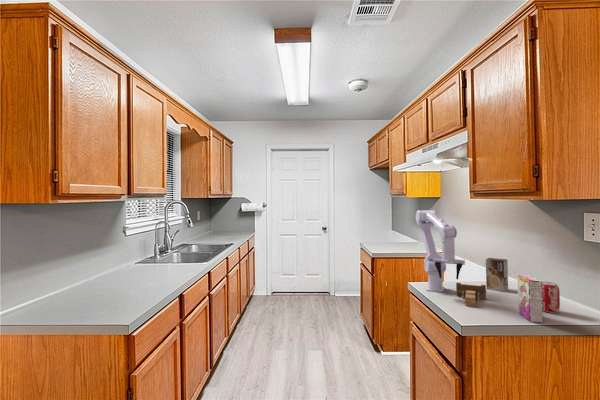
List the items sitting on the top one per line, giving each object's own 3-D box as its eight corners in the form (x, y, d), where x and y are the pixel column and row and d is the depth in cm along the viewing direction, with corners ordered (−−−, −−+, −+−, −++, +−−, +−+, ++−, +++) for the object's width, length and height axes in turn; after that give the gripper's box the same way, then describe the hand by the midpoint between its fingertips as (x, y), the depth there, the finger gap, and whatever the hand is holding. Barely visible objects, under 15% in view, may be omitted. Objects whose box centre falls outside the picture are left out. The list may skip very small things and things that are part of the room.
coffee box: (508, 289, 183) (508, 259, 183) (504, 292, 178) (504, 261, 178) (490, 286, 189) (489, 257, 189) (485, 289, 185) (485, 259, 185)
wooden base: (456, 295, 174) (456, 282, 174) (486, 298, 168) (485, 285, 168) (455, 297, 170) (455, 284, 170) (485, 301, 164) (485, 287, 164)
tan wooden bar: (466, 297, 170) (466, 289, 170) (475, 298, 168) (475, 290, 168) (465, 306, 157) (465, 297, 157) (475, 307, 155) (475, 298, 155)
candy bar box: (517, 313, 146) (516, 274, 146) (530, 313, 145) (530, 274, 145) (529, 322, 135) (528, 280, 135) (543, 323, 134) (543, 280, 134)
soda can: (563, 312, 146) (562, 283, 146) (554, 315, 143) (554, 286, 143) (544, 307, 152) (544, 280, 152) (536, 310, 149) (535, 282, 149)
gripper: (431, 251, 171) (432, 278, 171) (463, 252, 164) (464, 281, 164) (433, 249, 177) (434, 275, 177) (464, 250, 170) (465, 278, 170)
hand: (448, 278), depth 171 cm, fingers open, 7 cm apart
